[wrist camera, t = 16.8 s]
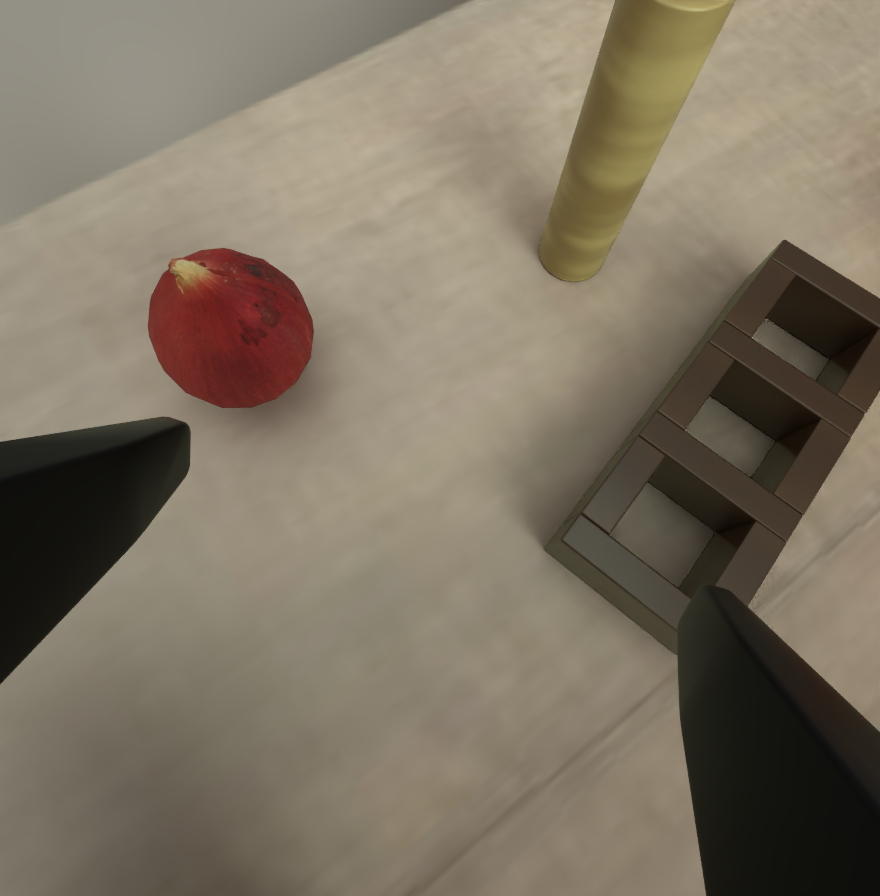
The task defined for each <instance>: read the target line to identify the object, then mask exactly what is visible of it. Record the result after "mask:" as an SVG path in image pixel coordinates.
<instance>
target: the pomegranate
mask: <svg viewBox="0 0 880 896" xmlns="http://www.w3.org/2000/svg"><path fill="white" fill-rule="evenodd" d="M148 331H149V337H150V340H151V342H152V345H153V347H154V350H155V353H156V355H157V358H158V361H159V362H160V364H161V366H162V368H163V369H164V371H165V372H166V373H167V374H168V375H169V376H170V377H171V378H172V379H173V380H174V381H175V382H176V383H177V384H178V385H179V386H180V387H181V388H182V389H183V390H184V391H185V392H186V393H188V394H190V395H192V396H194V397H197V398H199V399H202V400H204V401H207V402H209V403H212V404H214V405H217V406H219V407H222V408H249V407H254V406H257V405H260V404H262V403H265V402H268V401H271V400H273V399H276V398H277V397H279V396H280V395H281V394H282V393H284V392H285V391H286V390H287V389H289V388H290V387H291V386H292V385H294V384H295V383H296V382H297V380H298V379H299V377H300V375H301V373H302V372H303V370H304V368H305V366H306V365H307V363H308V361H309V360H310V358H311V350H312V342H313V333H314V330H313V322H312V317H311V315H310V313H309V311H308V308H307V306H306V304H305V301H304V299H303V297H302V294H301V293H300V291H299V289H298V288H297V286H296V285H295V283H294V282H293V281H292V280H291V279H290V278H288V277H287V276H286V275H285V274H283V273H282V272H281V271H279V270H278V269H276V268H275V267H273V266H272V265H271V264H269V263H268V262H266V261H265V260H263V259H260V258H256V257H252V256H249V255H246V254H243V253H240V252H237V251H234V250H231V249H225V248H220V249H209V250H201V251H198V252H196V253H193V254H191V255H189V256H186V257H184V258H176V259H171V261H170V263H169V269H168V270H167V271H166V272H164V273H163V275H162V276H161V278H160V280H159V282H158V284H157V286H156V288H155V290H154V292H153V294H152V296H151V300H150V308H149V320H148Z"/></svg>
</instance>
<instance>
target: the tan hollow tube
mask: <svg viewBox="0 0 880 896" xmlns="http://www.w3.org/2000/svg"><path fill="white" fill-rule="evenodd" d="M735 1H736V0H615V3H614V6H613V9H612V12H611V16H610V19H609V22H608V25H607V29H606V32H605V35H604V38H603V42H602V45H601V48H600V51H599V54H598V58H597V61H596V64H595V67H594V71H593V74H592V77H591V80H590V84H589V87H588V90H587V93H586V97H585V100H584V103H583V106H582V109H581V113H580V116H579V119H578V122H577V126H576V129H575V132H574V135H573V139H572V142H571V145H570V148H569V152H568V155H567V158H566V161H565V165H564V168H563V171H562V174H561V177H560V181H559V184H558V187H557V190H556V194H555V197H554V200H553V203H552V207H551V210H550V213H549V216H548V220H547V223H546V226H545V229H544V232H543V236H542V239H541V242H540V246H539V256H540V259H541V262H542V264H543V265H544V267H545V268H546V269H547V271H549V272H550V273H551V274H552V275H554V276H555V277H557V278H560V279H562V280H566V281H582V280H586V279H588V278H590V277H592V276H593V275H595V274H596V273H597V272H598V271H599V270H600V268H601V267H602V265H603V263H604V261H605V259H606V257H607V255H608V253H609V251H610V249H611V247H612V245H613V243H614V241H615V239H616V237H617V235H618V233H619V231H620V229H621V227H622V225H623V223H624V221H625V219H626V217H627V215H628V213H629V211H630V209H631V207H632V205H633V203H634V201H635V199H636V197H637V195H638V193H639V191H640V189H641V187H642V185H643V183H644V181H645V179H646V177H647V175H648V173H649V171H650V169H651V168H652V166H653V164H654V162H655V160H656V158H657V156H658V154H659V152H660V150H661V148H662V146H663V144H664V142H665V140H666V138H667V136H668V134H669V132H670V130H671V128H672V126H673V124H674V122H675V120H676V118H677V116H678V114H679V112H680V110H681V108H682V106H683V104H684V102H685V100H686V98H687V96H688V94H689V92H690V90H691V88H692V86H693V84H694V82H695V80H696V78H697V76H698V74H699V72H700V70H701V68H702V66H703V64H704V62H705V60H706V58H707V56H708V54H709V52H710V50H711V48H712V47H713V45H714V43H715V41H716V39H717V37H718V35H719V33H720V31H721V29H722V27H723V25H724V23H725V21H726V19H727V17H728V15H729V13H730V11H731V9H732V7H733V5H734V3H735Z"/></svg>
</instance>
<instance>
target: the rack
mask: <svg viewBox="0 0 880 896" xmlns="http://www.w3.org/2000/svg"><path fill="white" fill-rule="evenodd" d="M766 317H767V318H769V319H770V320H772V321H773V322H775V323H776V324H778V325H779V326H781V327H782V328H784V329H785V330H787V331H788V332H790V333H791V334H793V335H795V336H796V337H798V338H799V339H801V340H802V341H804V342H805V343H807V344H808V345H810V346H811V347H813V348H814V349H816V350H817V351H819V352H821V353H822V354H824V355H825V356H827V357H828V358H830V360H829V362H828V363H827V365H826V366H825V368H824V369H823V371H822V372H821V374H820V375H819V377H818V378H817V380H816V381H814V380H813V379H811V378H810V377H808V376H807V375H805V374H804V373H802V372H801V371H799V370H798V369H796V368H795V367H793V366H792V365H790V364H789V363H787V362H786V361H784V360H783V359H781V358H780V357H778V356H777V355H775V354H774V353H772V352H771V351H769V350H768V349H766V348H765V347H763V346H762V345H760V344H759V343H757V342H756V341H754V340H753V339H751V337H752V336H753V334H754V333H755V332H756V330H757V329H758V327H759V326H760V325H761V323H762V322H763V320H764V319H765V318H766ZM879 391H880V298H878V297H876V296H875V295H873V294H872V293H870V292H868V291H867V290H865V289H864V288H862V287H860V286H859V285H857V284H855V283H854V282H852V281H851V280H849V279H847V278H846V277H844V276H843V275H841V274H839V273H838V272H836V271H835V270H833V269H831V268H830V267H828V266H827V265H825V264H823V263H822V262H820V261H819V260H817V259H815V258H814V257H812V256H811V255H809V254H807V253H806V252H804V251H803V250H801V249H799V248H798V247H796V246H795V245H793V244H791V243H790V242H788V241H787V240H783V241H782V242H781V243H780V244H779V245H778V246H777V247H776V248H775V249H774V250H773V251H772V252H771V253H770V254H769V255H768V257H767V258H766V259H765V260H764V261H763V262H762V263H761V264H760V265H759V266H758V267H757V268H756V269H755V270H754V271H753V272H752V273H751V274H750V275H749V277H748V278H747V279H746V280H745V281H744V283H743V284H742V285H741V287H740V288H739V289H738V291H737V292H736V293H735V295H734V296H733V297H732V299H731V300H730V301H729V303H728V304H727V305H726V307H725V308H724V309H723V311H722V312H721V313H720V315H719V316H718V317H717V319H716V320H715V321H714V323H713V324H712V325H711V327H710V328H709V329H708V331H707V332H706V333H705V335H704V336H703V337H702V339H701V340H700V341H699V343H698V344H697V345H696V347H695V348H694V349H693V351H692V352H691V353H690V355H689V356H688V357H687V359H686V360H685V361H684V363H683V364H682V365H681V367H680V368H679V369H678V371H677V372H676V373H675V375H674V376H673V377H672V379H671V380H670V381H669V383H668V384H667V385H666V387H665V388H664V389H663V391H662V392H661V393H660V395H659V396H658V397H657V399H656V400H655V401H654V403H653V404H652V405H651V407H650V408H649V409H648V411H647V412H646V413H645V415H644V416H643V417H642V419H641V420H640V421H639V423H638V424H637V425H636V427H635V428H634V429H633V431H632V432H631V434H630V435H629V436H628V437H627V439H626V440H625V441H624V443H623V444H622V445H621V447H620V448H619V449H618V451H617V452H616V453H615V455H614V456H613V457H612V459H611V460H610V461H609V463H608V464H607V465H606V467H605V468H604V469H603V471H602V472H601V473H600V475H599V476H598V477H597V479H596V480H595V481H594V483H593V484H592V485H591V487H590V488H589V489H588V491H587V492H586V493H585V495H584V496H583V497H582V499H581V500H580V501H579V503H578V504H577V505H576V507H575V508H574V509H573V511H572V512H571V513H570V515H569V516H568V517H567V519H566V520H565V521H564V523H563V525H562V526H561V527H560V528H559V529H558V531H557V532H556V533H555V535H554V536H553V537H552V539H551V540H550V541H549V543H548V544H547V545H546V547H545V548H544V550H545V551H546V552H547V553H549V554H550V555H551V556H552V557H554V558H555V559H556V560H557V561H559V562H560V563H561V564H562V565H564V566H565V567H566V568H568V569H569V570H570V571H571V572H573V573H574V574H575V575H576V576H578V577H579V578H580V579H581V580H583V581H584V582H585V583H586V584H588V585H589V586H590V587H591V588H593V589H594V590H595V591H596V592H598V593H599V594H600V595H602V596H603V597H604V598H605V599H607V600H608V601H609V602H610V603H612V604H613V605H614V606H615V607H617V608H618V609H619V610H620V611H622V612H623V613H624V614H625V615H627V616H628V617H629V618H630V619H632V620H633V621H634V622H636V623H637V624H638V625H639V626H641V627H642V628H643V629H644V630H646V631H647V632H648V633H649V634H651V635H652V636H653V637H654V638H656V639H657V640H658V641H659V642H661V643H662V644H663V645H664V646H666V647H667V648H668V649H670V650H671V651H672V652H673V653H675V654H676V655H678V654H677V626H678V622H679V620H680V617H681V616H682V614H683V612H684V611H685V609H686V607H687V606H688V604H689V603H690V601H691V599H692V598H693V596H694V594H695V593H696V591H697V590H698V588H699V587H700V586H701V585H703V584H711V585H714V586H718V587H721V588H724V589H727V590H729V591H731V592H732V593H733V594H735V595H736V596H737V597H738V598H739V599H740V600H741V601H742V602H743V603H744V604H745V605H746V606H748V605H749V603H750V601H751V600H752V598H753V597H754V595H755V593H756V592H757V590H758V588H759V587H760V585H761V584H762V582H763V580H764V579H765V577H766V575H767V574H768V572H769V571H770V569H771V567H772V566H773V564H774V562H775V561H776V559H777V558H778V556H779V554H780V553H781V551H782V549H783V548H784V546H785V545H786V542H787V541H788V539H789V537H790V536H791V534H792V533H793V531H794V529H795V528H796V526H797V524H798V523H799V521H800V520H801V518H802V515H804V514H805V512H806V510H807V509H808V507H809V506H810V504H811V502H812V501H813V499H814V497H815V496H816V494H817V493H818V491H819V489H820V488H821V486H822V484H823V483H824V481H825V480H826V478H827V476H828V475H829V473H830V471H831V470H832V468H833V467H834V465H835V463H836V462H837V460H838V458H839V457H840V455H841V453H842V452H843V450H844V449H845V447H846V445H847V444H848V442H849V440H850V437H851V436H852V435H853V433H854V431H855V430H856V428H857V427H858V425H859V423H860V422H861V420H862V418H863V417H864V414H865V413H866V412H867V411H868V409H869V407H870V406H871V404H872V402H873V401H874V399H875V398H876V396H877V394H878V393H879ZM709 395H711V396H712V397H714V398H715V399H717V400H718V401H720V402H721V403H722V404H724V405H725V406H727V407H728V408H730V409H731V410H733V411H734V412H735V413H737V414H738V415H740V416H741V417H743V418H744V419H746V420H747V421H748V422H750V423H751V424H753V425H754V426H756V427H757V428H758V429H760V430H761V431H763V432H764V433H766V434H767V435H769V436H770V437H771V438H773V439H774V440H776V442H775V443H774V445H773V446H772V448H771V449H770V451H769V452H768V454H767V455H766V457H765V458H764V460H763V461H762V463H761V465H760V466H759V468H758V469H757V471H756V472H755V474H754V475H753V477H752V478H750V477H748V476H747V475H746V474H744V473H743V472H741V471H740V470H739V469H737V468H736V467H734V466H733V465H732V464H730V463H729V462H727V461H726V460H725V459H723V458H722V457H720V456H719V455H718V454H716V453H715V452H713V451H712V450H711V449H709V448H708V447H706V446H705V445H704V444H702V443H701V442H699V441H698V440H697V439H695V438H694V437H692V436H691V435H690V434H688V433H687V432H685V431H684V430H685V429H686V427H687V426H688V425H689V423H690V422H691V421H692V419H693V418H694V416H695V415H696V414H697V412H698V411H699V409H700V408H701V407H702V405H703V404H704V402H705V401H706V400H707V398H708V397H709ZM647 482H650V483H651V484H652V485H654V486H655V487H656V488H658V489H659V490H660V491H662V492H663V493H664V494H666V495H667V496H668V497H670V498H671V499H672V500H674V501H675V502H677V503H678V504H679V505H681V506H682V507H683V508H685V509H686V510H687V511H689V512H690V513H691V514H693V515H694V516H695V517H697V518H698V519H700V520H701V521H702V522H704V523H705V524H706V525H708V526H709V527H710V528H712V529H713V530H714V531H716V533H715V534H714V536H713V537H712V539H711V540H710V542H709V543H708V545H707V546H706V548H705V550H704V551H703V553H702V554H701V556H700V557H699V559H698V560H697V562H696V563H695V565H694V566H693V568H692V569H691V571H690V572H689V574H688V575H687V577H686V578H685V580H684V581H683V583H682V584H681V586H680V587H679V589H678V588H677V587H676V586H675V585H673V584H672V583H671V582H669V581H668V580H667V579H665V578H664V577H663V576H662V575H660V574H659V573H658V572H656V571H655V570H654V569H652V568H651V567H650V566H649V565H647V564H646V563H645V562H643V561H642V560H641V559H640V558H638V557H637V556H636V555H634V554H633V553H632V552H630V551H629V550H628V549H627V548H625V547H624V546H623V545H621V544H620V543H619V542H617V541H616V540H615V539H614V538H612V537H611V536H610V535H608V534H610V533H611V532H612V530H613V529H614V528H615V526H616V525H617V523H618V522H619V521H620V519H621V518H622V516H623V515H624V514H625V512H626V511H627V510H628V508H629V507H630V505H631V504H632V503H633V501H634V500H635V498H636V497H637V496H638V494H639V493H640V491H641V490H642V489H643V487H644V486H645V484H646V483H647Z"/></svg>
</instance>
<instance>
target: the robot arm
mask: <svg viewBox="0 0 880 896" xmlns="http://www.w3.org/2000/svg"><path fill="white" fill-rule="evenodd" d="M190 440H191V432H190V427H189V426H188V425H187V423H185V422H182V421H179V420H176V419H172V418H169V417H158V418H151V419H145V420H138V421H132V422H126V423H119V424H113V425H106V426H100V427H93V428H87V429H80V430H74V431H67V432H61V433H55V434H48V435H42V436H35V437H29V438H22V439H16V440H9V441H3V442H0V684H1V683H2V682H3V681H4V680H5V679H6V678H7V677H8V676H9V675H10V674H11V673H12V671H13V670H14V669H15V668H16V667H17V666H18V665H19V664H20V663H21V662H22V661H23V660H24V659H25V658H26V657H27V656H28V655H29V654H30V653H31V652H32V650H33V649H34V648H35V647H36V646H37V645H38V644H39V643H40V642H41V641H42V640H43V639H44V638H45V637H46V636H47V635H48V634H49V633H50V632H51V631H52V629H53V628H54V627H55V626H56V625H57V624H58V623H59V622H60V621H61V620H62V619H63V618H64V617H65V616H66V615H67V614H68V613H69V612H70V611H71V609H72V608H73V607H74V606H75V605H76V604H77V603H78V602H79V601H80V600H81V599H82V598H83V597H84V596H85V595H86V594H87V593H88V592H89V591H90V590H91V588H92V587H93V586H94V585H95V584H96V583H97V582H98V581H99V580H100V579H101V578H102V577H103V576H104V575H105V574H106V573H107V572H108V571H109V570H110V569H111V567H112V566H113V565H114V564H115V563H116V562H117V561H118V560H119V559H120V558H121V557H122V556H123V555H124V554H125V553H126V552H127V551H128V549H129V548H130V547H131V546H132V545H133V544H134V543H135V542H136V541H137V539H138V538H139V537H140V536H141V534H142V533H143V532H144V531H145V530H146V528H147V527H148V526H149V524H150V523H151V522H152V520H153V519H154V518H155V516H156V515H157V514H158V512H159V511H160V510H161V509H162V507H163V506H164V505H165V503H166V502H167V501H168V499H169V498H170V497H171V495H172V494H173V493H174V491H175V490H176V489H177V488H178V486H179V485H180V484H181V482H182V481H183V480H184V478H185V477H186V475H187V473H188V470H189V467H190ZM677 654H678V685H679V709H680V721H681V729H682V737H683V743H684V750H685V757H686V763H687V770H688V777H689V783H690V790H691V797H692V803H693V810H694V817H695V823H696V830H697V837H698V844H699V850H700V857H701V864H702V870H703V877H704V884H705V890H706V896H880V732H879V731H878V730H877V729H876V728H875V727H874V726H873V725H872V724H871V723H870V722H869V721H868V720H867V719H866V718H864V717H863V716H862V715H861V714H860V713H859V712H858V711H857V710H856V709H855V708H854V707H853V706H852V705H851V704H850V703H849V702H848V701H846V700H845V699H844V698H843V697H842V696H841V695H840V694H839V693H838V692H837V691H836V690H835V689H834V688H833V687H832V686H831V685H830V684H829V683H827V682H826V681H825V680H824V679H823V678H822V677H821V676H820V675H819V674H818V673H817V672H816V671H815V670H814V669H813V668H812V667H811V666H810V665H808V664H807V663H806V662H805V661H804V660H803V659H802V658H801V657H800V656H799V655H798V654H797V653H796V652H795V651H794V650H793V649H792V648H791V647H789V646H788V645H787V644H786V643H785V642H784V641H783V640H782V639H781V638H780V637H779V636H778V635H777V634H776V633H775V632H774V631H773V630H772V629H770V628H769V627H768V626H767V625H766V624H765V623H764V622H763V621H762V620H761V619H760V618H759V617H758V616H757V615H756V614H755V613H754V612H752V611H751V610H750V609H749V608H748V607H747V606H746V605H745V604H744V603H743V602H742V601H741V600H740V599H739V598H738V597H737V596H736V595H735V594H733V593H732V592H731V591H729V590H727V589H724V588H721V587H718V586H714V585H711V584H703V585H701V586H700V587H699V588H698V590H697V591H696V593H695V594H694V596H693V598H692V599H691V601H690V603H689V604H688V606H687V607H686V609H685V611H684V612H683V614H682V616H681V617H680V620H679V622H678V626H677Z"/></svg>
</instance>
